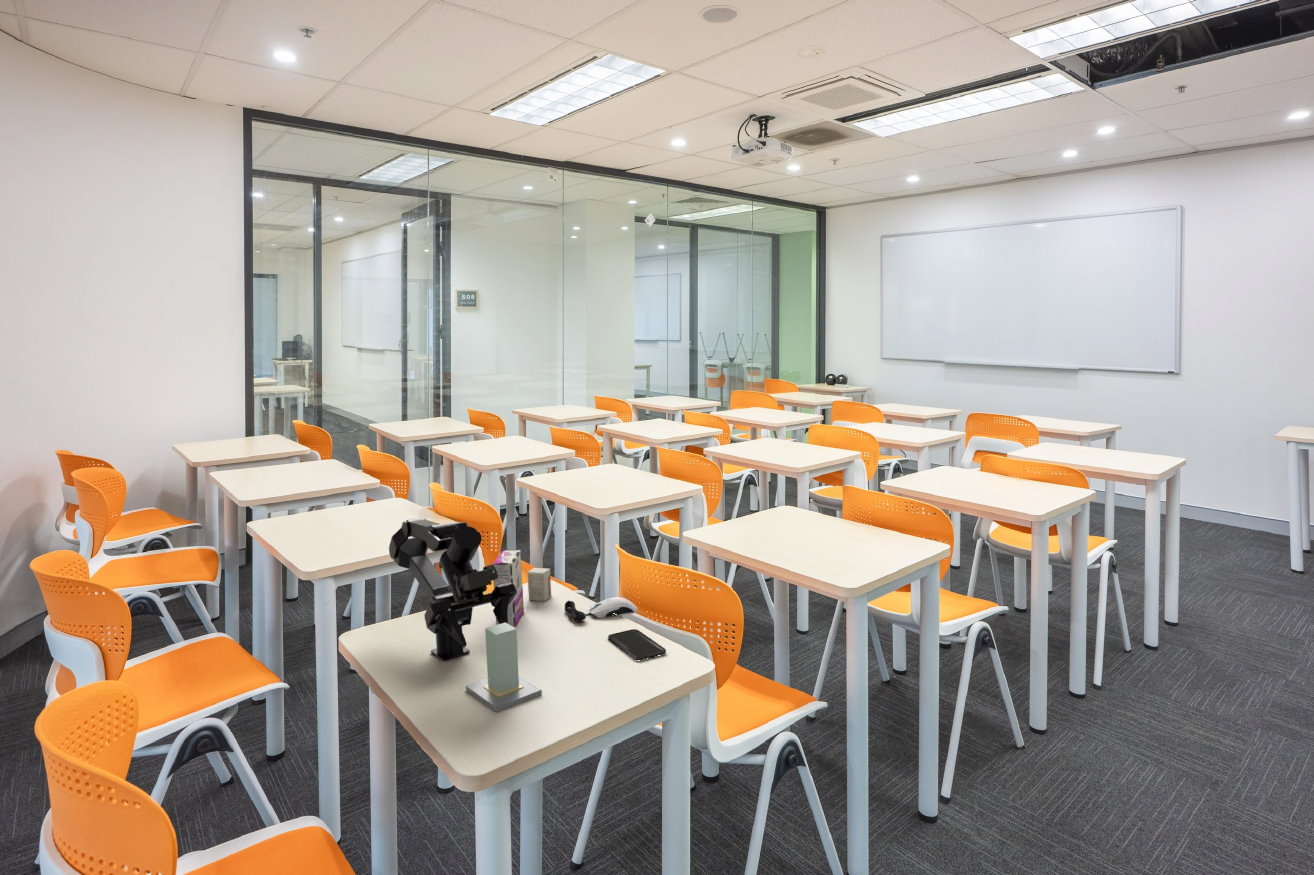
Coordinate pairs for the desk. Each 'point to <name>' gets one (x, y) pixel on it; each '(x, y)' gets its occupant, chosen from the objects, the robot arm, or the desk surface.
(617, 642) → the phone
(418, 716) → the desk surface
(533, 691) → the pad
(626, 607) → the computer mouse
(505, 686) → the sage block
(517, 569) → the candy bar box
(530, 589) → the small box
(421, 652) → the desk surface
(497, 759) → the desk surface
